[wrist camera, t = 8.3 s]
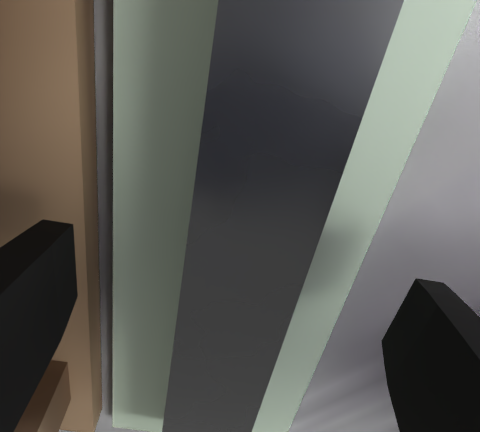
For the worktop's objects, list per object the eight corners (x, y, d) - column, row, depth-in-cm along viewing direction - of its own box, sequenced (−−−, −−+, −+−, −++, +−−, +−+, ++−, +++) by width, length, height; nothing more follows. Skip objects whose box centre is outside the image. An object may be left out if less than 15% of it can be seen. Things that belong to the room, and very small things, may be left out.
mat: (610, -337, 6) (631, -352, 5) (280, 438, 17) (280, 448, 17) (123, -464, 5) (114, -487, 5) (115, 416, 17) (112, 426, 16)
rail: (440, -267, 6) (532, -363, 4) (231, 429, 16) (227, 500, 14) (269, -310, 6) (275, -430, 4) (167, 420, 16) (153, 491, 14)
